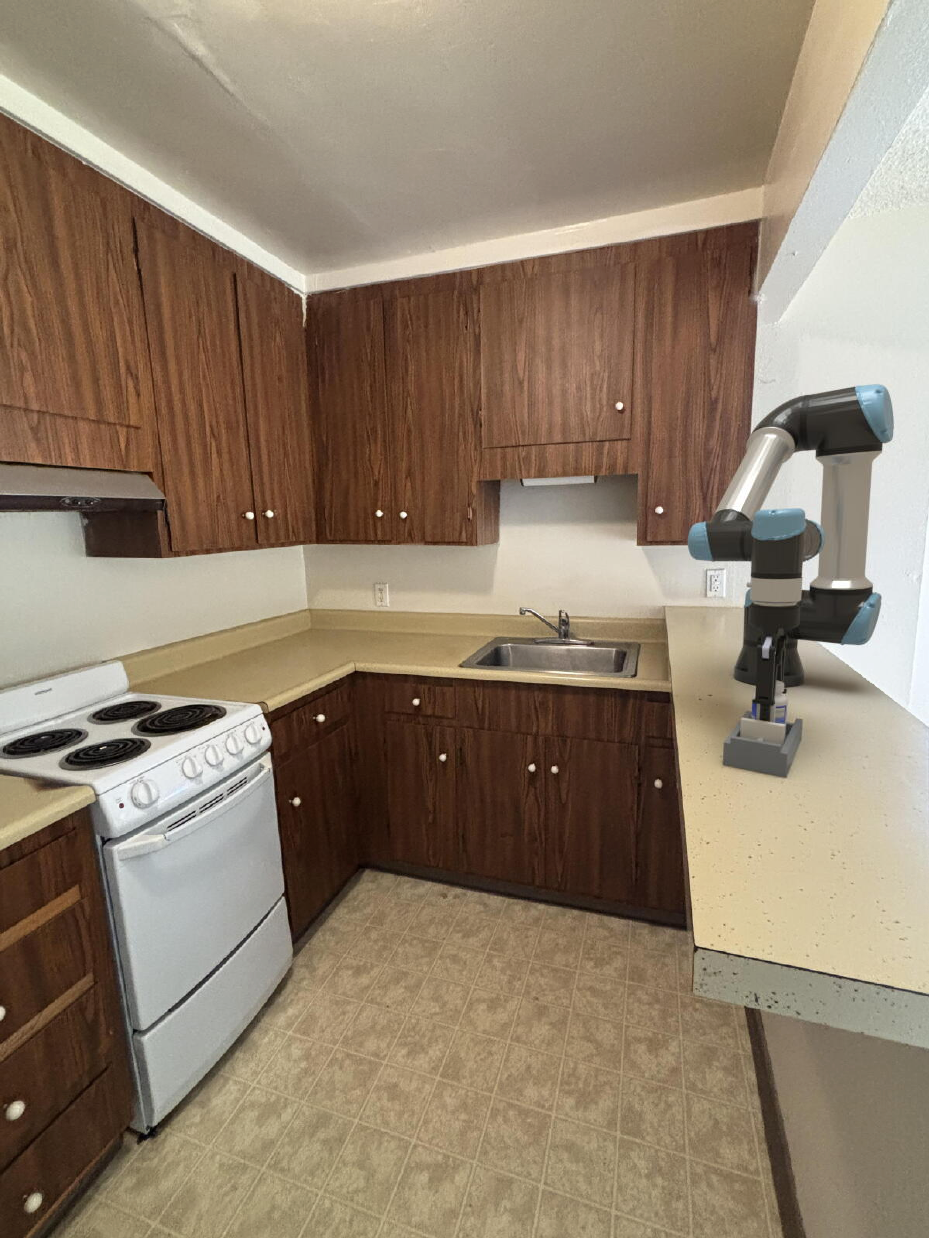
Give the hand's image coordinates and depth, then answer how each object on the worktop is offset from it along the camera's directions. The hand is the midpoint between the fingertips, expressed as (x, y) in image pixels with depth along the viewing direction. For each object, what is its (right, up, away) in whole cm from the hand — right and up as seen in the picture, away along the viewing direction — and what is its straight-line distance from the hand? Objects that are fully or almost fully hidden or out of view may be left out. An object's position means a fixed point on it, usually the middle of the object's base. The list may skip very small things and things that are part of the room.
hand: (767, 734), depth 98 cm
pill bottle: (0, 0, 0) cm, 1 cm away
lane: (-2, -2, -2) cm, 4 cm away
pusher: (-5, -2, -6) cm, 8 cm away
